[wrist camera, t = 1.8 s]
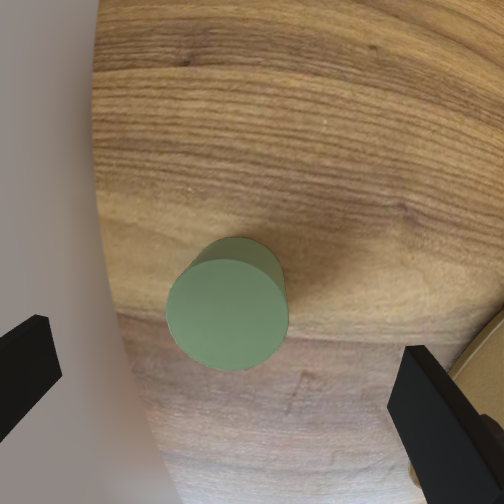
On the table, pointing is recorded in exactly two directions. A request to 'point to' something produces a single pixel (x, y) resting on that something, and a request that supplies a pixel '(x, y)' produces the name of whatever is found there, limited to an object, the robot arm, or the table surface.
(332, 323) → the table surface
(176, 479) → the table surface
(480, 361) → the plant saucer
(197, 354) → the sage green cylinder
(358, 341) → the table surface
